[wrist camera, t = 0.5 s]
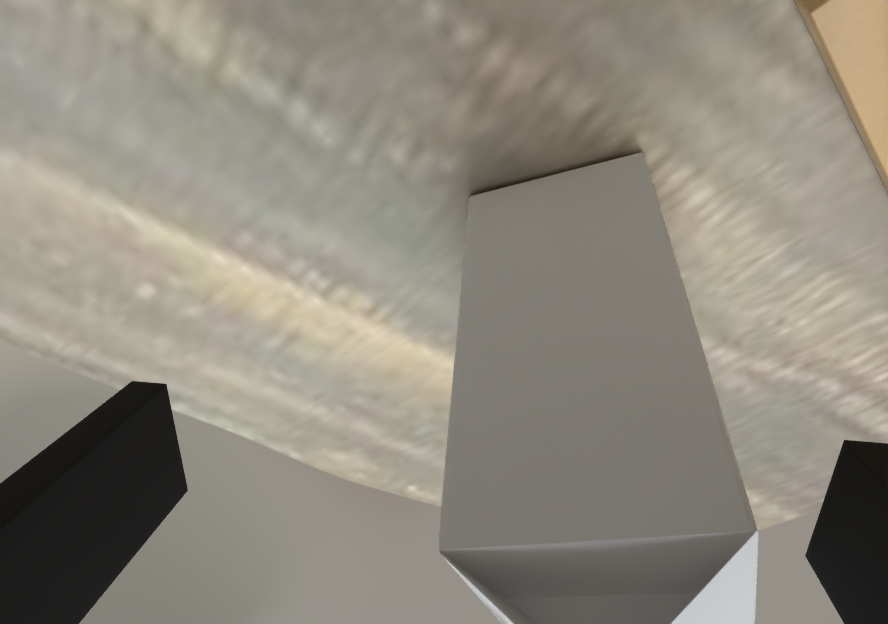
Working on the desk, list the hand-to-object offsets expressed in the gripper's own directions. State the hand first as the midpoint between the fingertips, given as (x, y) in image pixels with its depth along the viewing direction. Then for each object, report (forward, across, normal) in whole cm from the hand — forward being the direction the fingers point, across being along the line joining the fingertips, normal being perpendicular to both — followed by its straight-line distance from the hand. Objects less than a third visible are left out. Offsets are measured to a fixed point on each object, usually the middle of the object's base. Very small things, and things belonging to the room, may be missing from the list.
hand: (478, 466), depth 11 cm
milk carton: (+16, +3, +1) cm, 16 cm away
